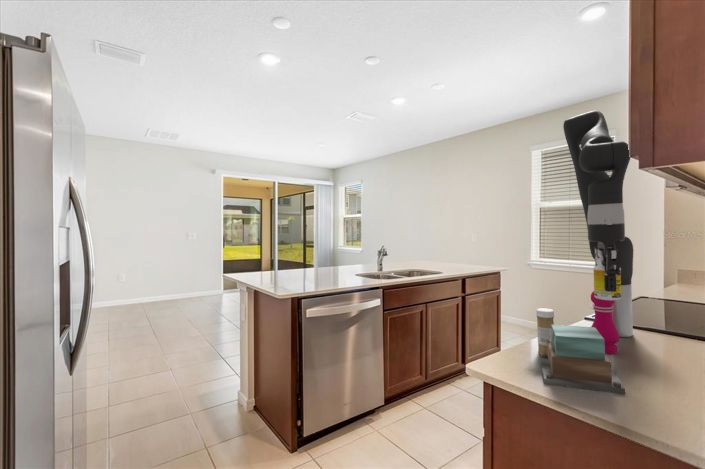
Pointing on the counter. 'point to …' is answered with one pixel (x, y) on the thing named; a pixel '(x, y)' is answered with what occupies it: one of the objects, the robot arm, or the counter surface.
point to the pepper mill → (605, 323)
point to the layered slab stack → (579, 360)
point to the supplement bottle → (600, 284)
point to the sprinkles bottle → (544, 328)
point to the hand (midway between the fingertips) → (607, 288)
